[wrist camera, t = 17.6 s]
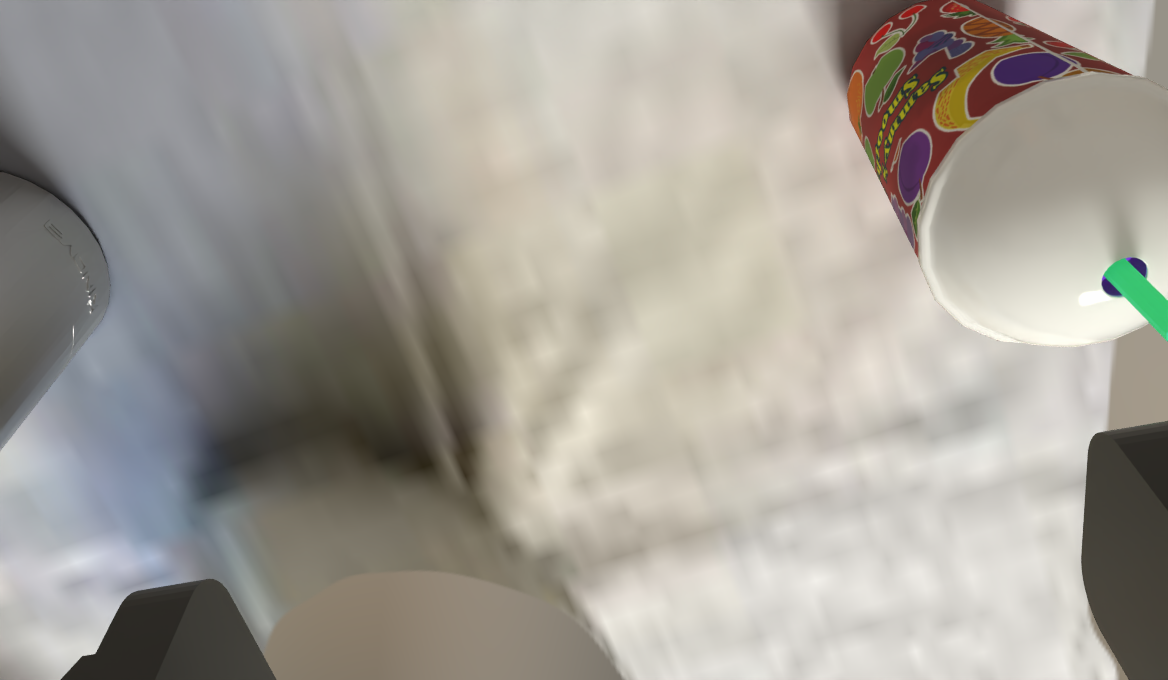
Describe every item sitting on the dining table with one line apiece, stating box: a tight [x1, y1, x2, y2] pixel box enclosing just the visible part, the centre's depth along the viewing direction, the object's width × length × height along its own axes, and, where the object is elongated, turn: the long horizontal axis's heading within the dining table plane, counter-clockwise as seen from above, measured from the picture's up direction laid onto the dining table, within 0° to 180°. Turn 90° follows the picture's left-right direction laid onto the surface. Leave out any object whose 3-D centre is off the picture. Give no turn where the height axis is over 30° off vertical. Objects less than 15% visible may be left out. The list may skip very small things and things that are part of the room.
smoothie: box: [847, 0, 1168, 347], centre depth 32 cm, size 8×8×20 cm
